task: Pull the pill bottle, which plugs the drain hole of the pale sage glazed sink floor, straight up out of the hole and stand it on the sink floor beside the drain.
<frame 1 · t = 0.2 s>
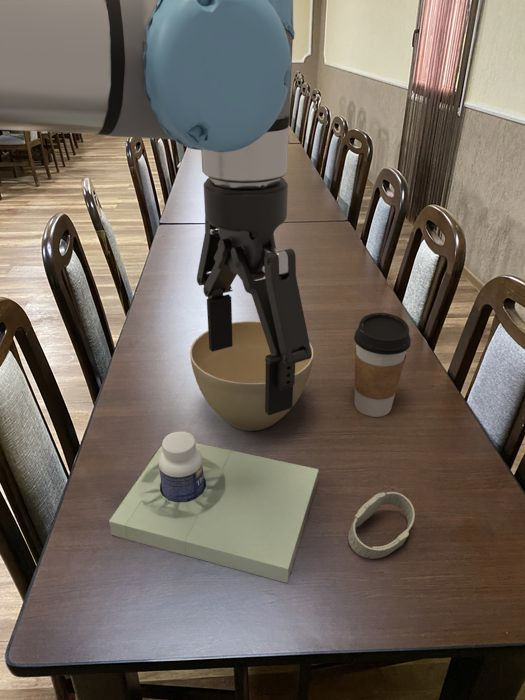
hand: (247, 376, 59), 20 cm above the table, tool pointing down, fingers open, 13 cm apart
wristwatch: (380, 536, 65), on the table
pill bottle: (184, 499, 70), resting in sink
tan round bowl: (252, 415, 85), on the table
coffee cup: (372, 406, 87), on the table
sink: (220, 507, 69), on the table
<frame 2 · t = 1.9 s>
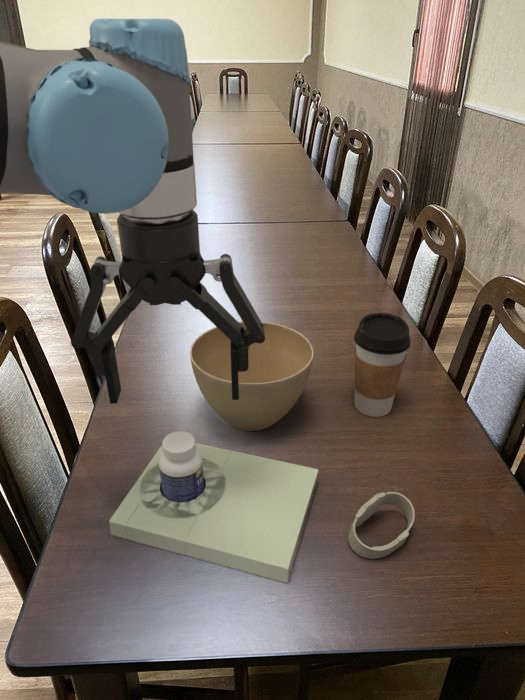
hand: (176, 394, 61), 17 cm above the table, tool pointing down, fingers open, 13 cm apart
nothing on the table moved.
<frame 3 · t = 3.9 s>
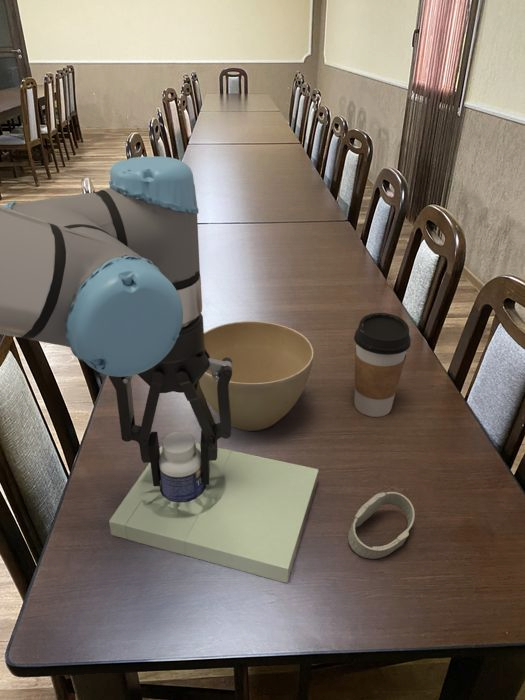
hand: (182, 477, 68), 4 cm above the table, tool pointing down, fingers closed on pill bottle, 5 cm apart
pill bottle: (184, 499, 70), resting in sink, touching gripper
everything else where it was.
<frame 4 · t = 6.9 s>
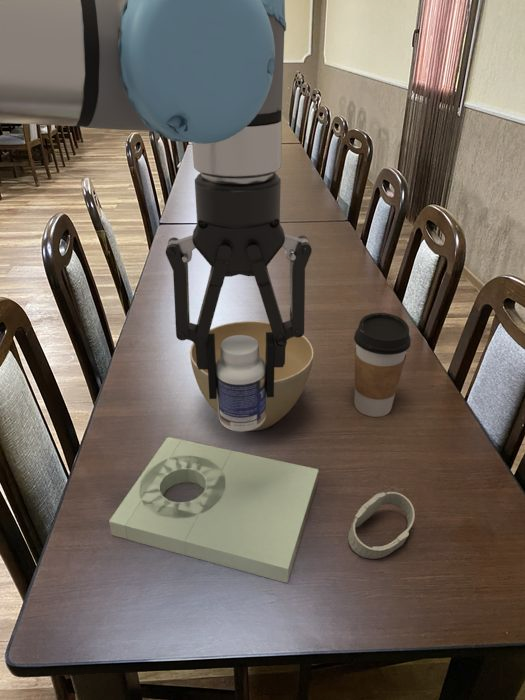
hand: (241, 390, 59), 19 cm above the table, tool pointing down, fingers closed on pill bottle, 5 cm apart
pill bottle: (242, 419, 61), point 15 cm above the table, touching gripper
everything else where it was.
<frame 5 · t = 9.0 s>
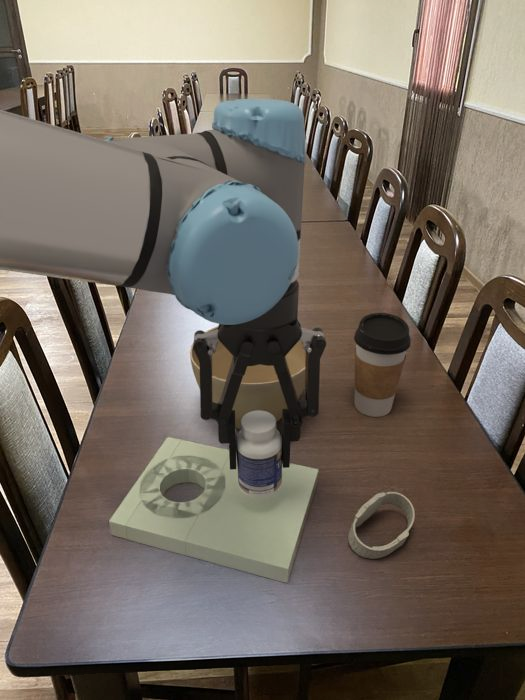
hand: (259, 460, 63), 9 cm above the table, tool pointing down, fingers closed on pill bottle, 5 cm apart
pill bottle: (259, 484, 65), point 5 cm above the table, touching gripper
everything else where it was.
when the fingers open (6 cm above the table, at t = 10.1 s): pill bottle stays where it is, resting on sink.
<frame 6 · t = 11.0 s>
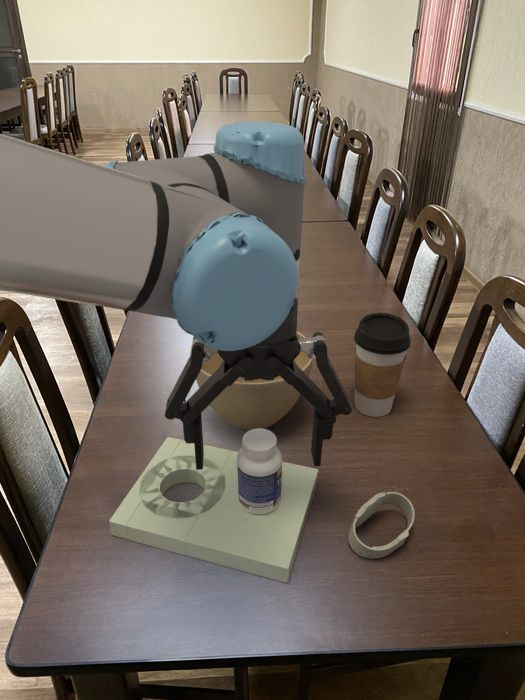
hand: (258, 459, 63), 9 cm above the table, tool pointing down, fingers open, 13 cm apart
pill bottle: (259, 500, 67), point 2 cm above the table, touching sink
everything else where it was.
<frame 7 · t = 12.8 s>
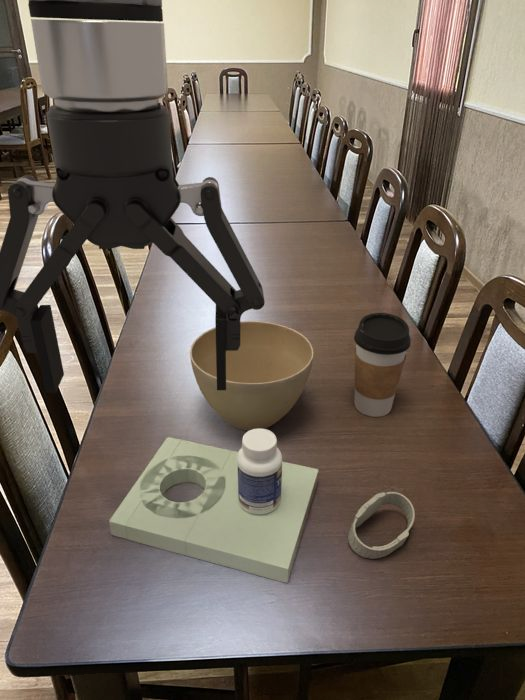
hand: (139, 382, 45), 27 cm above the table, tool pointing down, fingers open, 13 cm apart
nothing on the table moved.
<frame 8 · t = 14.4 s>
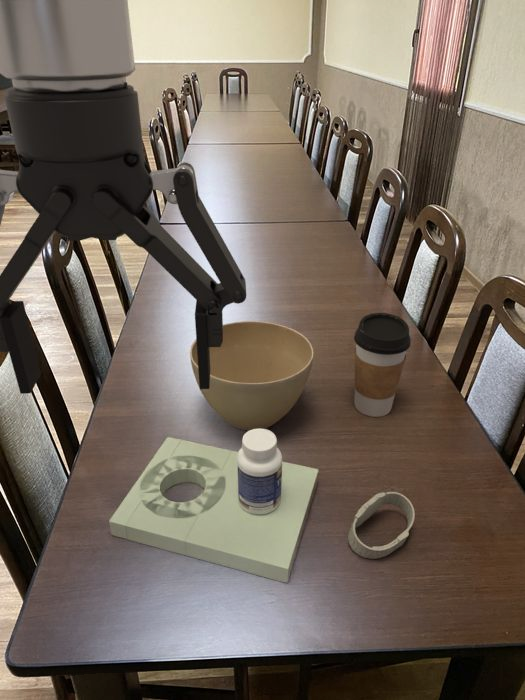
hand: (118, 381, 42), 29 cm above the table, tool pointing down, fingers open, 13 cm apart
nothing on the table moved.
at the end: pill bottle inside the target area on the sink (0.7 cm from its centre), point 2.3 cm above the sink's base; pill bottle tilted 0°; the gripper is holding nothing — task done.
